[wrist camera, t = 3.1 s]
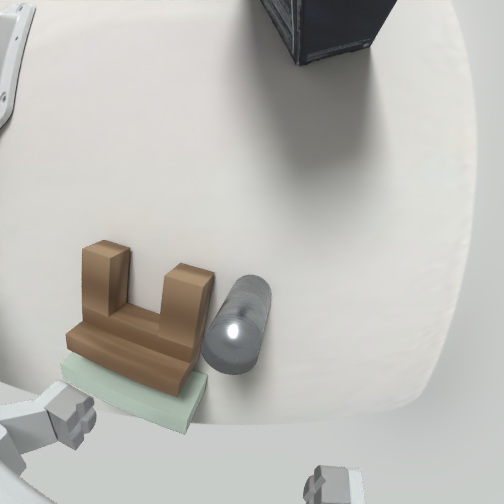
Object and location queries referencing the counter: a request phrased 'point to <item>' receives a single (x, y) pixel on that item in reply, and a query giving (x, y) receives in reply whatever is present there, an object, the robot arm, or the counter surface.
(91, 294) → the block
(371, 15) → the small box
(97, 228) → the counter surface
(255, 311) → the dowel
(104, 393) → the wall
